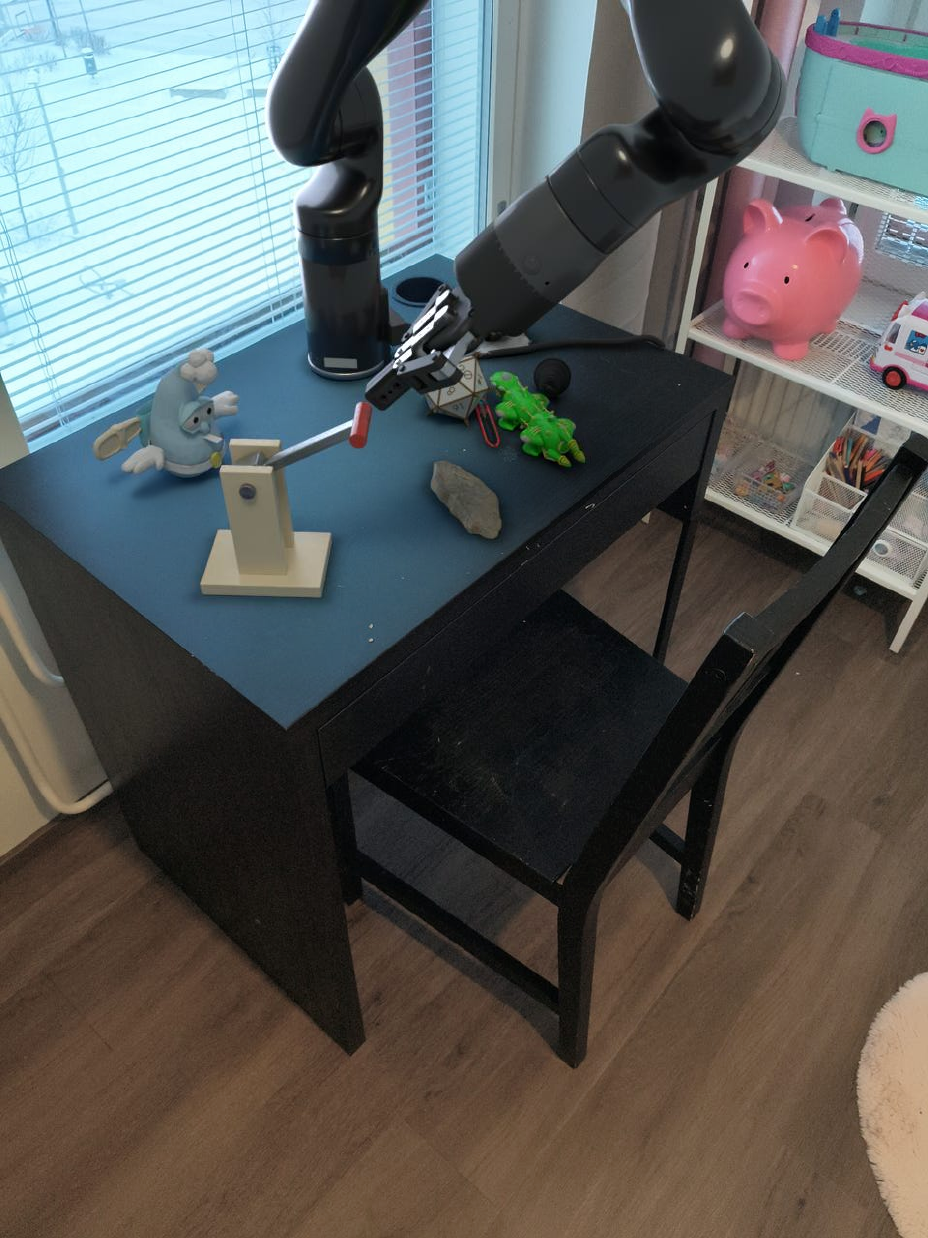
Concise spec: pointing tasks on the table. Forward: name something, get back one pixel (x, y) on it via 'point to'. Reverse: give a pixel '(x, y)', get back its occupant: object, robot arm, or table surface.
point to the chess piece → (552, 377)
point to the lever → (317, 442)
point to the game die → (461, 391)
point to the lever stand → (263, 535)
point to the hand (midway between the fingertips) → (373, 399)
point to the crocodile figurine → (534, 420)
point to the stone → (467, 499)
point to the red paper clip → (484, 410)
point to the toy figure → (175, 423)
